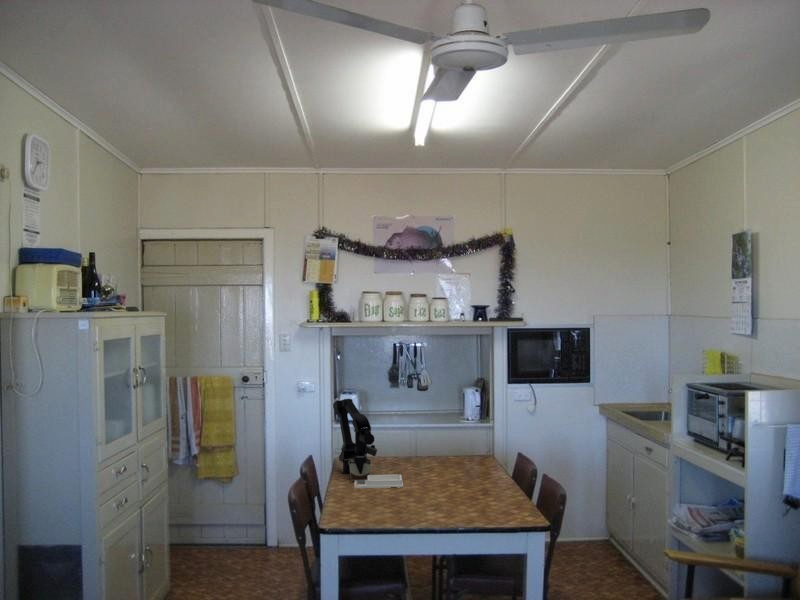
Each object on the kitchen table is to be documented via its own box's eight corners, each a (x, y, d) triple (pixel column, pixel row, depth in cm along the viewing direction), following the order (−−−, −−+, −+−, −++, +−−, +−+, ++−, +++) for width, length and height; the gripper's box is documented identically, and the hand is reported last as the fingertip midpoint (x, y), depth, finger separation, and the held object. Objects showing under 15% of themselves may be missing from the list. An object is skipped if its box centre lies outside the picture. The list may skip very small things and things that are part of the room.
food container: (373, 477, 334) (373, 458, 335) (371, 480, 328) (371, 460, 329) (350, 477, 336) (350, 457, 336) (347, 480, 330) (347, 460, 330)
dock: (354, 481, 326) (354, 475, 326) (402, 481, 327) (402, 474, 327) (354, 488, 314) (354, 481, 314) (403, 487, 315) (403, 480, 315)
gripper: (376, 445, 323) (376, 476, 323) (376, 437, 342) (376, 467, 342) (354, 445, 323) (354, 476, 323) (355, 438, 342) (355, 467, 341)
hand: (360, 471), depth 332 cm, fingers open, 8 cm apart
